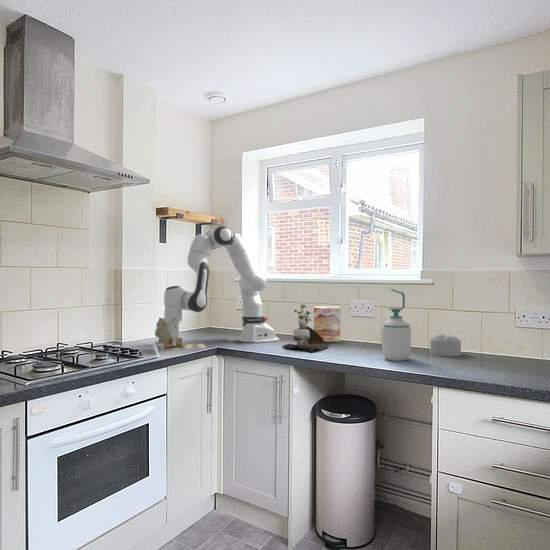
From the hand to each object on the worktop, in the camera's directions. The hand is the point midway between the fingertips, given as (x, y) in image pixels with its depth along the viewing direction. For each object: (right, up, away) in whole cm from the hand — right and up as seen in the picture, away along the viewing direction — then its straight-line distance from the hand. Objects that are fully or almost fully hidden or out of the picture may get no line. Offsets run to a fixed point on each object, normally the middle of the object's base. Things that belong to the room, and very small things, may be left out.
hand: (173, 344), depth 217 cm
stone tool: (-9, -3, +17) cm, 20 cm away
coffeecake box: (+82, -2, +26) cm, 86 cm away
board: (+5, -3, +2) cm, 6 cm away
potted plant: (+69, -2, +2) cm, 69 cm away
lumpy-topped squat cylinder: (+132, -2, -17) cm, 133 cm away
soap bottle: (+106, -2, -29) cm, 110 cm away
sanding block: (0, -1, 0) cm, 1 cm away
